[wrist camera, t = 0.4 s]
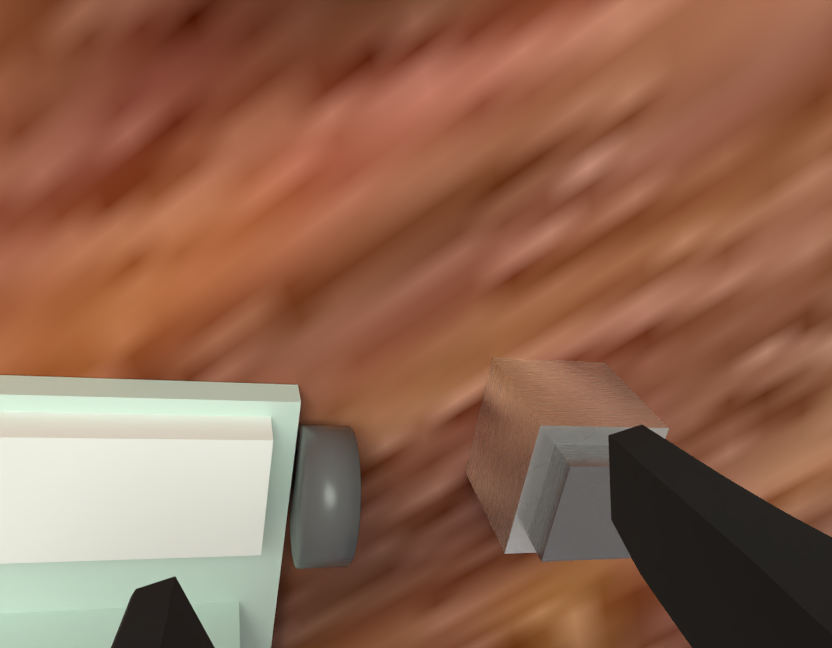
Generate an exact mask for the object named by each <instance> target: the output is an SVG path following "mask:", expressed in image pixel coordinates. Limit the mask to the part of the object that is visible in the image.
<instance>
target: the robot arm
mask: <svg viewBox="0 0 832 648" xmlns="http://www.w3.org/2000/svg"><path fill="white" fill-rule="evenodd" d="M608 442H609V471H610V499H611V520H612V522H613V524H614V526H615V528H616V530H617V532H618V534H619V535H620V537H621V539H622V541H623V543H624V545H625V547H626V549H627V551H628V552H629V554H630V556H631V558H632V560H633V561H634V563H635V565H636V567H637V568H638V570H639V572H640V574H641V575H642V577H643V578H644V580H645V581H646V583H647V584H648V586H649V587H650V588H651V590H652V591H653V593H654V594H655V596H656V597H657V598H658V600H659V601H660V603H661V604H662V606H663V607H664V608H665V610H666V611H667V613H668V614H669V616H670V617H671V618H672V620H673V621H674V623H675V624H676V626H677V627H678V628H679V630H680V631H681V633H682V634H683V635H684V637H685V638H686V640H687V641H688V642H689V644H690V645H691V647H692V648H832V537H830V536H828V535H826V534H824V533H822V532H821V531H819V530H817V529H815V528H813V527H811V526H809V525H807V524H806V523H804V522H802V521H800V520H798V519H796V518H794V517H793V516H791V515H789V514H787V513H785V512H784V511H782V510H780V509H778V508H777V507H775V506H773V505H771V504H770V503H768V502H766V501H765V500H763V499H761V498H759V497H758V496H756V495H754V494H753V493H751V492H749V491H748V490H746V489H744V488H743V487H741V486H739V485H737V484H736V483H734V482H732V481H731V480H729V479H728V478H726V477H724V476H723V475H721V474H719V473H718V472H716V471H715V470H713V469H712V468H710V467H708V466H707V465H705V464H704V463H702V462H700V461H699V460H697V459H696V458H694V457H693V456H691V455H689V454H688V453H686V452H685V451H683V450H682V449H680V448H679V447H677V446H675V445H674V444H672V443H671V442H669V441H668V440H666V439H665V438H663V437H661V436H660V435H658V434H657V433H655V432H654V431H652V430H650V429H649V428H647V427H645V426H644V425H638V426H635V427H632V428H629V429H626V430H623V431H620V432H617V433H614V434H611V435H608ZM111 648H215V647H214V645H213V644H212V642H211V640H210V638H209V636H208V635H207V633H206V631H205V629H204V627H203V625H202V624H201V622H200V620H199V618H198V616H197V615H196V613H195V611H194V609H193V607H192V605H191V604H190V602H189V600H188V598H187V596H186V595H185V593H184V591H183V589H182V587H181V585H180V584H179V582H178V580H177V578H176V576H174V577H171V578H168V579H165V580H162V581H159V582H156V583H153V584H150V585H147V586H144V587H140V588H137V589H135V591H134V592H133V594H132V596H131V598H130V600H129V603H128V605H127V608H126V610H125V613H124V616H123V618H122V621H121V623H120V626H119V628H118V631H117V633H116V636H115V638H114V641H113V643H112V646H111Z"/></svg>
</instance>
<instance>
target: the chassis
mask: <svg viewBox="0 0 832 648" xmlns="http://www.w3.org/2000/svg"><path fill="white" fill-rule="evenodd" d="M300 406H301V400H300V394H299V388H298V385H286V384H256V383H226V382H195V381H165V380H135V379H104V378H74V377H44V376H13V375H0V648H111V646H112V643H113V641H114V638H115V636H116V633H117V631H118V628H119V626H120V623H121V621H122V618H123V616H124V613H125V610H126V608H127V605H128V603H129V600H130V598H131V596H132V594H133V592H134V591H135V589H137V588H140V587H144V586H147V585H150V584H153V583H156V582H159V581H162V580H165V579H168V578H171V577H174V576H176V578H177V580H178V582H179V584H180V585H181V587H182V589H183V591H184V593H185V595H186V596H187V598H188V600H189V602H190V604H191V605H192V607H193V609H194V611H195V613H196V615H197V616H198V618H199V620H200V622H201V624H202V625H203V627H204V629H205V631H206V633H207V635H208V636H209V638H210V640H211V642H212V644H213V645H214V647H215V648H271V643H272V635H273V627H274V619H275V611H276V602H277V594H278V586H279V578H280V570H281V561H282V553H283V545H284V537H285V529H286V520H287V512H288V504H289V496H290V538H291V550H292V557H293V562H294V565H295V567H296V568H297V569H301V568H326V567H347V566H349V565H350V564H351V562H352V560H353V557H354V554H355V550H356V545H357V540H358V533H359V523H360V509H361V475H360V461H359V453H358V446H357V441H356V437H355V434H354V432H353V429H352V428H351V427H350V426H322V425H300V426H299V428H298V422H299V414H300ZM297 430H298V431H297Z"/></svg>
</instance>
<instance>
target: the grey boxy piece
mask: <svg viewBox="0 0 832 648" xmlns="http://www.w3.org/2000/svg"><path fill="white" fill-rule="evenodd" d="M638 425H644V426H645V427H647V428H649V429H650V430H652V431H654V432H655V433H657V434H658V435H660V436H661V437H663V438H666V435H667V432H668V430H669V428H668V427H667V426H666V425H665V424H664V422H663V421H662V420H661V419H660V418H659V417H658V416H657V415H656V414H655V413H654V412H653V411H652V410H651V409H650V408H649V407H648V406H647V405H646V404H645V403H644V402H643V401H642V400H641V399H640V398H639V397H638V396H637V395H636V394H635V393H634V392H633V391H632V390H631V389H630V388H629V387H628V386H627V385H626V384H625V383H624V382H623V381H622V380H621V379H620V378H619V377H618V376H617V375H616V373H615V372H614V371H613V370H612V369H611V368H610V367H609V366H608V365H607V364H606V363H603V362H582V361H561V360H540V359H519V358H498V357H493V358H492V362H491V367H490V371H489V375H488V379H487V383H486V388H485V392H484V396H483V400H482V404H481V409H480V413H479V417H478V421H477V425H476V430H475V434H474V438H473V442H472V446H471V451H470V455H469V459H468V463H467V467H466V474H467V476H468V478H469V480H470V483H471V485H472V487H473V489H474V491H475V493H476V495H477V497H478V499H479V501H480V503H481V505H482V508H483V510H484V512H485V514H486V516H487V518H488V520H489V522H490V524H491V526H492V528H493V530H494V532H495V535H496V537H497V539H498V541H499V543H500V545H501V547H502V549H503V551H504V553H505V554H509V553H537V554H538V556H539V558H540V560H541V561H567V560H593V559H619V558H630V554H629V552H628V551H627V549H626V547H625V545H624V543H623V541H622V539H621V537H620V535H619V534H618V532H617V530H616V528H615V526H614V524H613V522H612V520H611V499H610V471H609V442H608V435H611V434H614V433H617V432H620V431H623V430H626V429H629V428H632V427H635V426H638Z"/></svg>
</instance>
